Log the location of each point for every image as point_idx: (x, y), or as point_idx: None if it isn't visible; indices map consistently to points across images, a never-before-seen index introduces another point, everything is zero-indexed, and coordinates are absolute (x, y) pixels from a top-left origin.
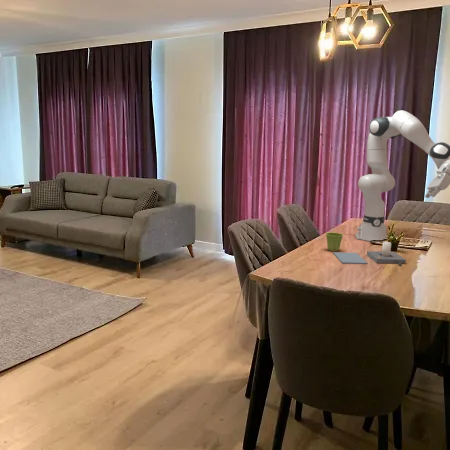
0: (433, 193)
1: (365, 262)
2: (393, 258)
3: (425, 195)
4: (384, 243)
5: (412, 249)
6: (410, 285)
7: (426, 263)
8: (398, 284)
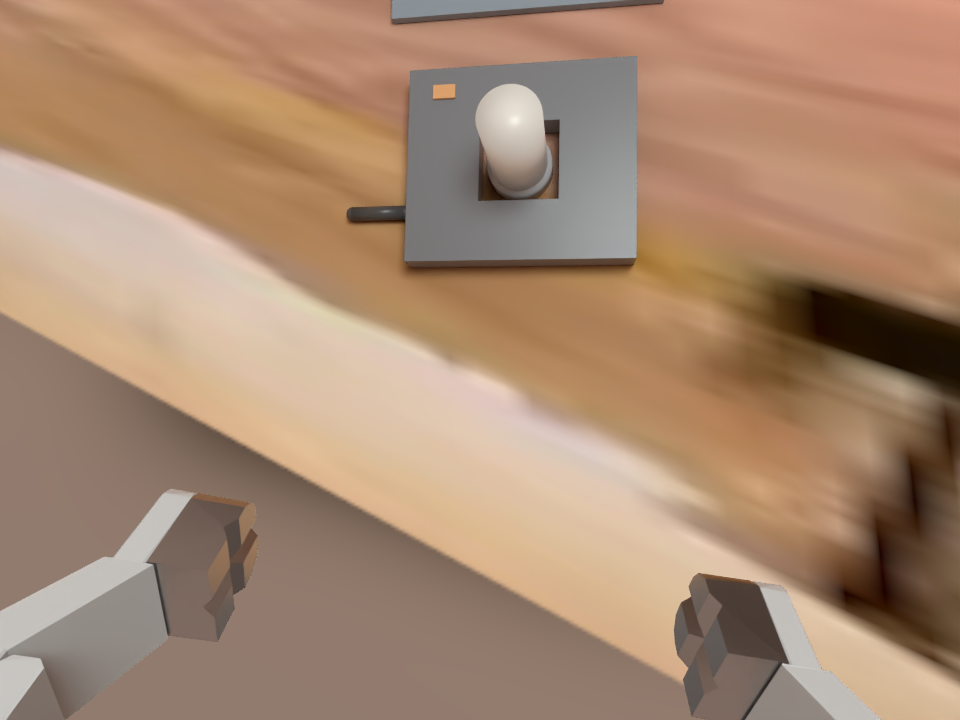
0: (131, 549)
1: (398, 8)
2: (431, 186)
3: (785, 600)
4: (490, 93)
5: (871, 496)
6: (15, 144)
7: (425, 411)
8: (30, 91)
